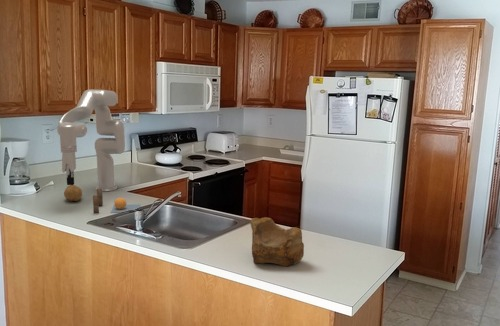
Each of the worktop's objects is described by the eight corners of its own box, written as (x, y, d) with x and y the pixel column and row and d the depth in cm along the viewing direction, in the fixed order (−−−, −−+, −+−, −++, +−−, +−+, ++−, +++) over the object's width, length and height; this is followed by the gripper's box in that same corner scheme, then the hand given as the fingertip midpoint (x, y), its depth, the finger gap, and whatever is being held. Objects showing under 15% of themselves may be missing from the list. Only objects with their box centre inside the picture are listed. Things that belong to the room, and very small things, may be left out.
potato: (65, 204, 251) (64, 190, 249) (63, 198, 263) (62, 184, 261) (84, 202, 255) (84, 188, 253) (81, 196, 267) (80, 183, 266)
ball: (122, 194, 246) (129, 202, 247) (113, 201, 246) (121, 209, 247) (119, 197, 240) (127, 205, 241) (110, 204, 240) (118, 212, 241)
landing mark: (114, 205, 251) (114, 205, 251) (140, 204, 253) (140, 204, 253) (110, 212, 237) (110, 212, 237) (138, 212, 239) (138, 211, 239)
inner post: (98, 205, 250) (97, 188, 249) (103, 205, 251) (102, 188, 249) (97, 206, 248) (96, 190, 246) (102, 206, 248) (101, 190, 247)
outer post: (94, 212, 238) (93, 195, 236) (99, 212, 238) (98, 195, 236) (93, 213, 235) (92, 196, 233) (98, 213, 236) (97, 196, 234)
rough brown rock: (232, 261, 180) (231, 225, 176) (257, 246, 193) (257, 212, 189) (283, 279, 167) (283, 241, 163) (306, 261, 179) (307, 225, 175)
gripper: (64, 146, 242) (66, 181, 245) (57, 151, 227) (59, 188, 231) (79, 146, 243) (81, 181, 246) (73, 151, 228) (75, 188, 232)
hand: (70, 184), depth 238 cm, fingers closed
